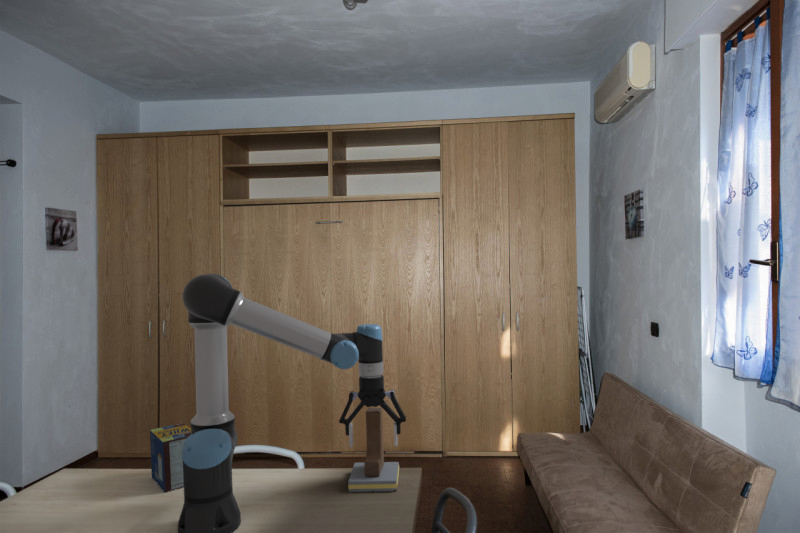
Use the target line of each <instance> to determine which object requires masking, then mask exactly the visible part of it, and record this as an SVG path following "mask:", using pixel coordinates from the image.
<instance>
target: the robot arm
mask: <svg viewBox="0 0 800 533" xmlns="http://www.w3.org/2000/svg"><path fill="white" fill-rule="evenodd" d="M182 302H183V305H184V307H185V309H186V310H187V311H188V313H187V314H188V315H187V316H188V317H187V318H188V324H189V326H191V327H192V328H193V329H194V359H195V360H194V364H195V369H194V370H195V403H196V405H195V409H196V411H195V412H196V414H195V415H194V416H193V417H192V419H190V428H191V435H190V436H189V437H188V438H186V440H185V441H184V443H183V449H182V460H183V480H184V487H183V498H184V499H183V501H184V502H183V505H182V509H181V511H180V515H179V519H178V523H177V533H234V532H235V531H236V530H237V529H239V527H240V526H241V523H242V517H241V514H242V513H241V510H240V508H239V505H238V502H237V500H236V497H235V495H234V492H233V457H234V453H235V449H236V445H237V441H238V439H237V438H238V437H237V436H238V435H237V433H236V431H237V430H236V427H235V425H236V423H235V420H236V419H235V414H233V412H232V411H230V408H229V404H230V403H229V369H228V364H229V363H228V362H229V361H228V358H229V357H228V355H229V354H228V326H230V325H233V326H235V327H237V328H241V329H243V330H245V331H248V332H250V333H254V334H256V335H259V336H261V337H264V338H266V339H268V340H271V341H274V342H276V343H279V344H281V345H283V346H284V345H285V346H286V347H289V348H292V349H294V350H297V351H300V352H302V353H305V354H308V355H309V356H310V355H311V356H313V357H315V358H318V359H320V360H321V361H324V362H327V363H330V364H332V365H333V366H335V367H336V368H338V369H340V370H348V369H351V368H353V367H354V366H355V365H356V364H358V375H359V377H358V388H359V390H358V392H357V391H354V390H350V391H349V394H348V400H347V402H346V405H345V406H344V409H343V411H342V414H341V416H340V418H339V420H338V423H339V424H343V425H344V427H345V436H348V441H349V445H348V446H349V448H353V446H354V427H353V422H352V421H353V420H354V419H355V417H356V416H357V415H358V414H359V412H360V411H361V410H362V409H363V408H364V406H365V407H367V408H378V407H379V406H380V408H382V410H383V411H385V412H386V414H388V416H389V417H390V418H391V419H392V421H394V423H393V439H394V440H393V442H394V447H397V446H398V435H401V423H406V422H407V416H406V414H405V412H404V411H403V409H402V407H401V404H400V402H399V401H398V399H397V398H396V393H395V390H394V389H390V391H389V390H388V391H385V380H384V379H385V377H384V375H383V374H384V358H383V357H384V354H383V353H384V352H383V351H384V350H383V341H384V339H383V333H382V332H383V331H382V327H381V325H379V324H376V323H365V324H359V325H358V326H357V327H356V331H354V332H344V333H343V332H340V333H332V332H329V331H327V330H324V329H322V328H320V327H317V326H314V325H312V324H310V323H308V322H305V321H302V320H300V319H298V318H295V317H294V316H291V315H288V314H286V313H283V312H281V311H278V310H276V309H273V308H271V307H269V306H266V305H263V304H262V303H259V302H256V301H253V300H251V299H249V298H246V297H245V296H244V294H243V292H242V291H240V290H238V289H235V288H233V287H232V285H231V282H229V280H227V278H225V277H224V276H223V275H220V274H217V273H204V274H200V275H199V274H198V275H197V276H194V277H192V278H191V279H190V280H189V281H188V282H187V283H186V284H185V286H184V288H183V290H182ZM357 397H358V399H359V400H360V402H359V404H358V405H357V406H356V407H355V408H354V410H353V411H352V412H351V413H350V414H349V416H348V417H347V414H348V413H349V410H350V408H351V405H352V403H353V402H354V400H356V398H357ZM386 397H387V398H388V399H390V400H391V403H392V405H393V406H394V408H395V410H396V412H397V414H396V412H394V410H393V409H392V408H391V407H390V405H388V403H387V402H386V401H385V400H384V399H385V398H386ZM398 415H399V416H398ZM346 417H347V418H346Z"/></svg>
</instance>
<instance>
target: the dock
mask: <svg viewBox="0 0 800 533" xmlns="http://www.w3.org/2000/svg"><path fill="white" fill-rule="evenodd" d="M399 473H400V463H399V461H384V466H383V468H382V471H381V473H380V476H379V477H367V476H365V467H364V462H354V464H353V467H352V470H351V473H350V475H349V478H348V480H347V481H348V482H347V483H348V484H347V485H348V492H349V493H356V492H357V493H358V492H359V493H362V492H363V493H365V492H368V493H370V492H372V491H374V492H389V491H388V490H391V491H390V492H394V491H393V490H397V491H398V483H399Z"/></svg>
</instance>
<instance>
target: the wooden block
mask: <svg viewBox="0 0 800 533" xmlns="http://www.w3.org/2000/svg"><path fill="white" fill-rule="evenodd" d="M383 429H384V426H383V408H382V407H367V409H366V411H365V434H366V452H365V454H366V455H365V459H364V461H363V463H364V467H365V476H367V477H379V476H380V473H381V471H382V468H383V466H384V462H385V459H384V458H385V454H384V452H385V451H384V430H383Z"/></svg>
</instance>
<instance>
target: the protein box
mask: <svg viewBox="0 0 800 533" xmlns="http://www.w3.org/2000/svg"><path fill="white" fill-rule="evenodd" d="M190 435H191V427H190V426H188V425H186V424H185V423H184V422H180V423H176V424H172V425H171V424H170V425H167V426H162V427H158V428H152V429H150V430H149V441H150V442H149V443H150V465H151V466H150V468H151V478H152V480H153V481H154V480H155V481H156V482H157V483H158V484H157V483H156V482H155V481H154V482H155V483H156V484H157V485H158V486H160V487H161V488H160V487H159V488H160V489H161V490H162V491H163V493H168V491H169V492H171V491H175V489H176V490H178V489H182V488H184V480H183V460H182V449H183V443H184V441H185V440H186V438H188V437H189V436H190Z"/></svg>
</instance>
